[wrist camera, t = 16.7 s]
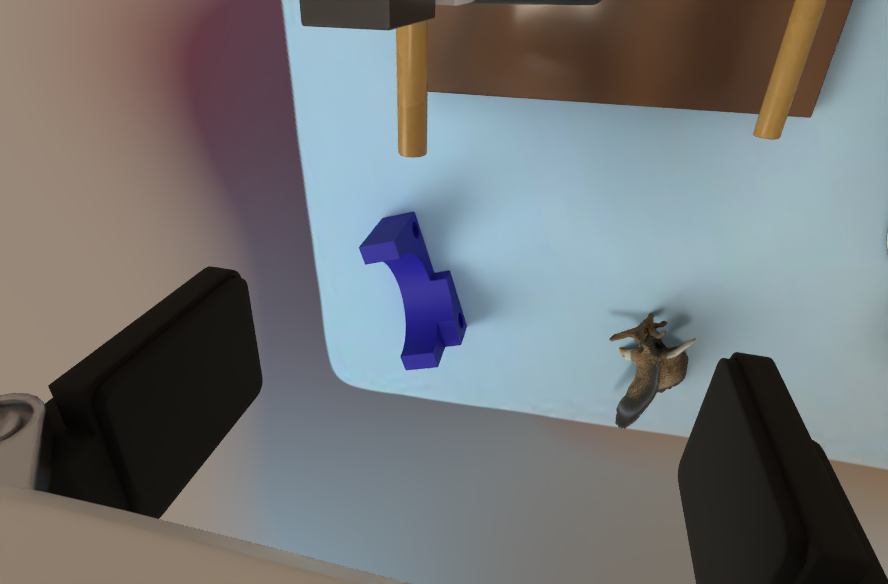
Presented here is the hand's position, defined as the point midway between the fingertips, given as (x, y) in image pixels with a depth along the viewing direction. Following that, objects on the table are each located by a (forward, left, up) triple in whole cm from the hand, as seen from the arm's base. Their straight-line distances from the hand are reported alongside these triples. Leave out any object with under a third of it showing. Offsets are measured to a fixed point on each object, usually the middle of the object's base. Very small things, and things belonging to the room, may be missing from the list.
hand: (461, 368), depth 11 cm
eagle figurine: (-11, +22, -34) cm, 42 cm away
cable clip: (+9, +17, -34) cm, 39 cm away
